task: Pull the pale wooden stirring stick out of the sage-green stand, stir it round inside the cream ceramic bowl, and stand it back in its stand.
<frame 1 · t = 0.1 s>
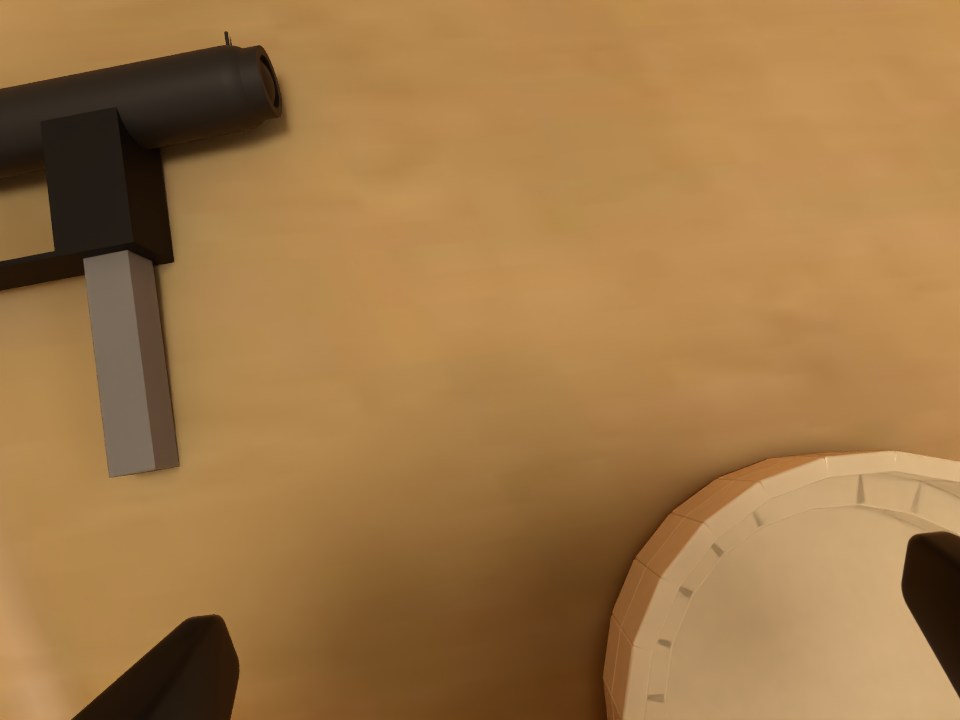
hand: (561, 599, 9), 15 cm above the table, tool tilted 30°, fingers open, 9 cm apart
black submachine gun: (59, 283, 26), on the table
bowl: (830, 683, 22), on the table
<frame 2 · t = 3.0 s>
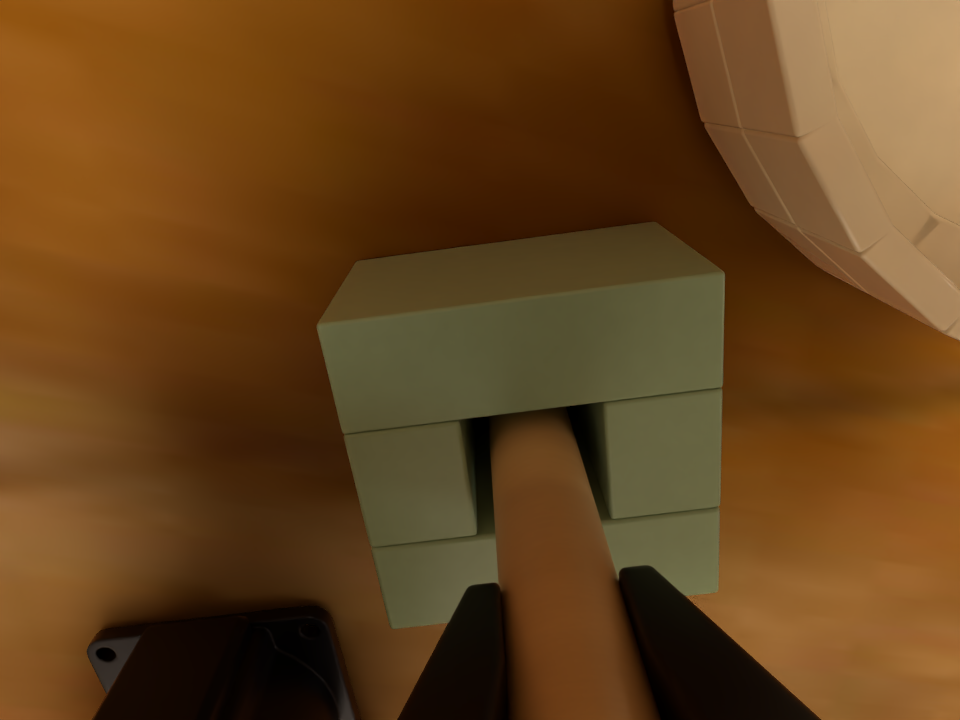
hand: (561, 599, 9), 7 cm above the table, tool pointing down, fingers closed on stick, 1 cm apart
stick: (547, 527, 10), in the stand, touching gripper
stand: (520, 377, 15), on the table
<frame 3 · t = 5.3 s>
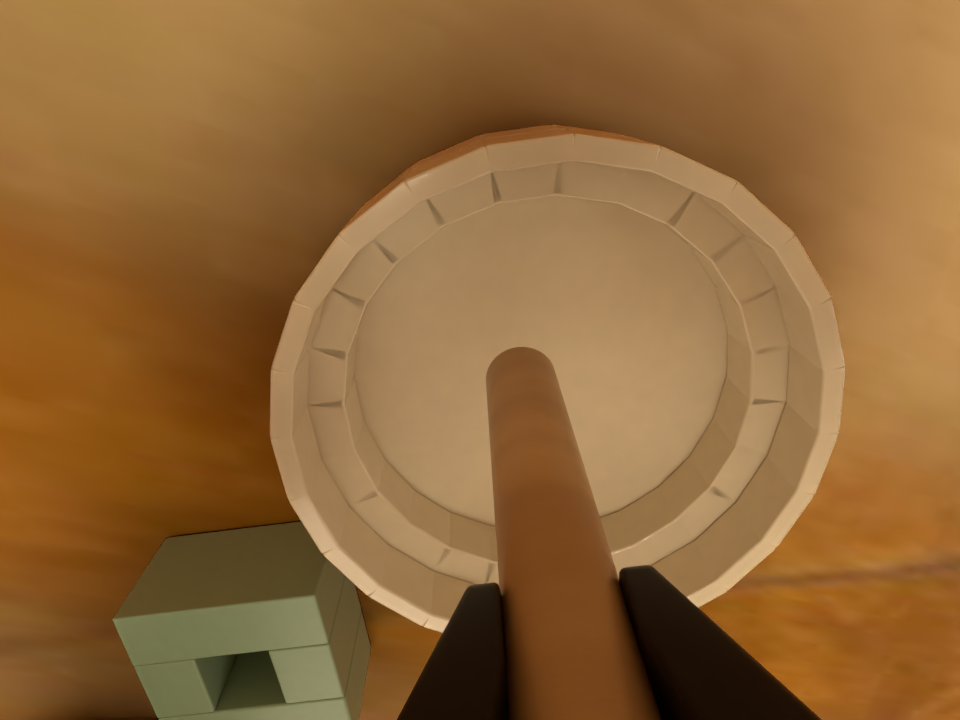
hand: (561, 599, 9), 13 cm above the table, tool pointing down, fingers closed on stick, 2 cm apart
stick: (548, 528, 10), point 12 cm above the table, touching gripper
bowl: (539, 368, 22), on the table
stand: (273, 594, 25), on the table
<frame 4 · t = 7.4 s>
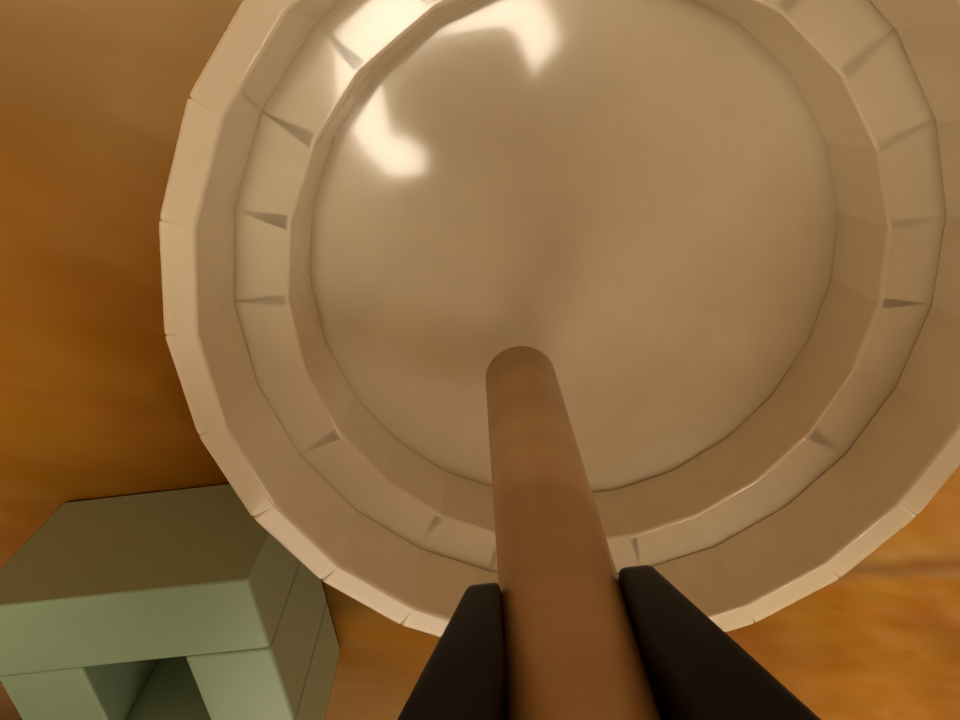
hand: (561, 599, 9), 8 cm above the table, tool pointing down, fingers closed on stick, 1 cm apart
stick: (547, 527, 10), point 7 cm above the table, touching gripper
bowl: (568, 269, 16), on the table
stand: (210, 580, 19), on the table
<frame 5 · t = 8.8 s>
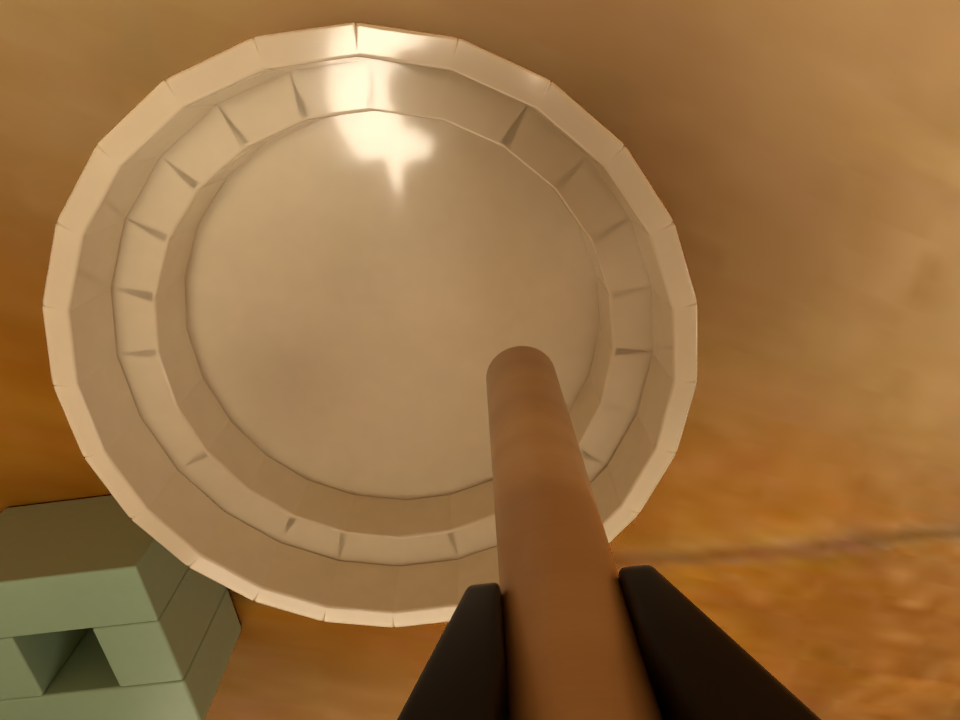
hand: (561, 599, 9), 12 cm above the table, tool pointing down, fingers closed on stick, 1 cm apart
stick: (548, 527, 10), point 10 cm above the table, touching gripper
bowl: (396, 320, 20), on the table
stand: (130, 571, 23), on the table
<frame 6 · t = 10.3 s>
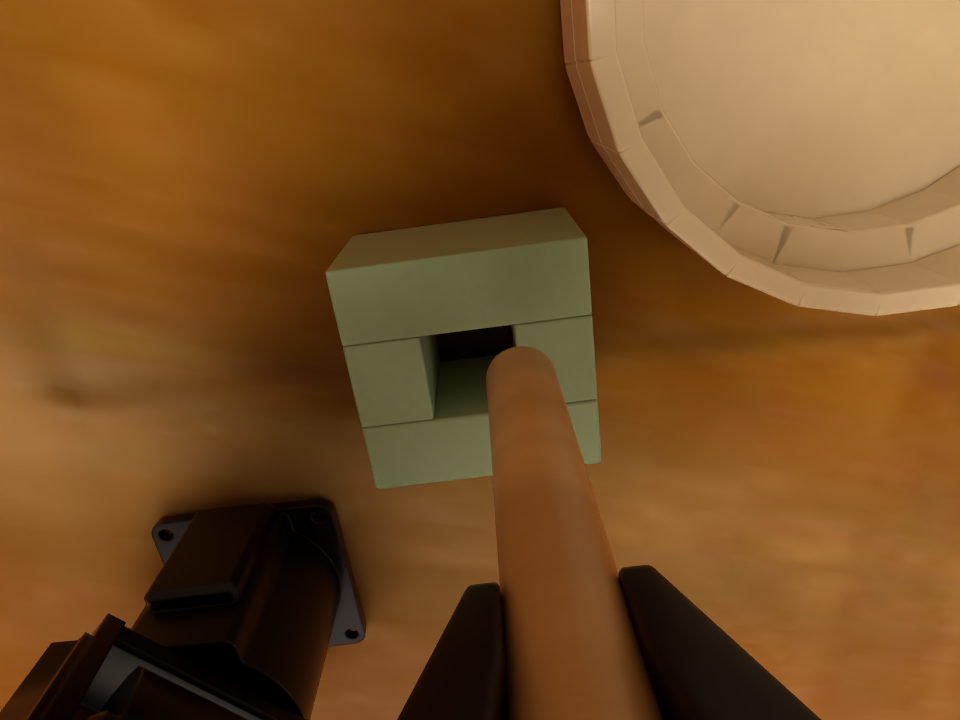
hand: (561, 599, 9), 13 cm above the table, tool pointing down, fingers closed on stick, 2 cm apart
stick: (548, 528, 10), point 11 cm above the table, touching gripper
stand: (472, 321, 21), on the table
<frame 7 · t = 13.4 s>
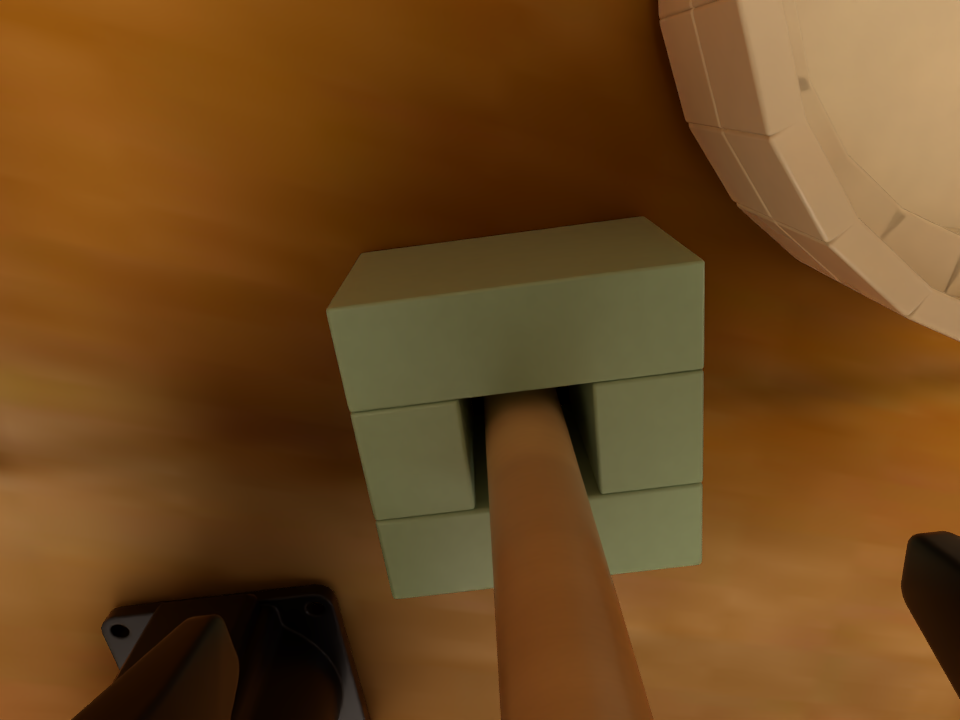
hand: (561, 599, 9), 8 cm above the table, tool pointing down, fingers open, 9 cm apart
stick: (537, 498, 11), in the stand
stand: (516, 364, 16), on the table
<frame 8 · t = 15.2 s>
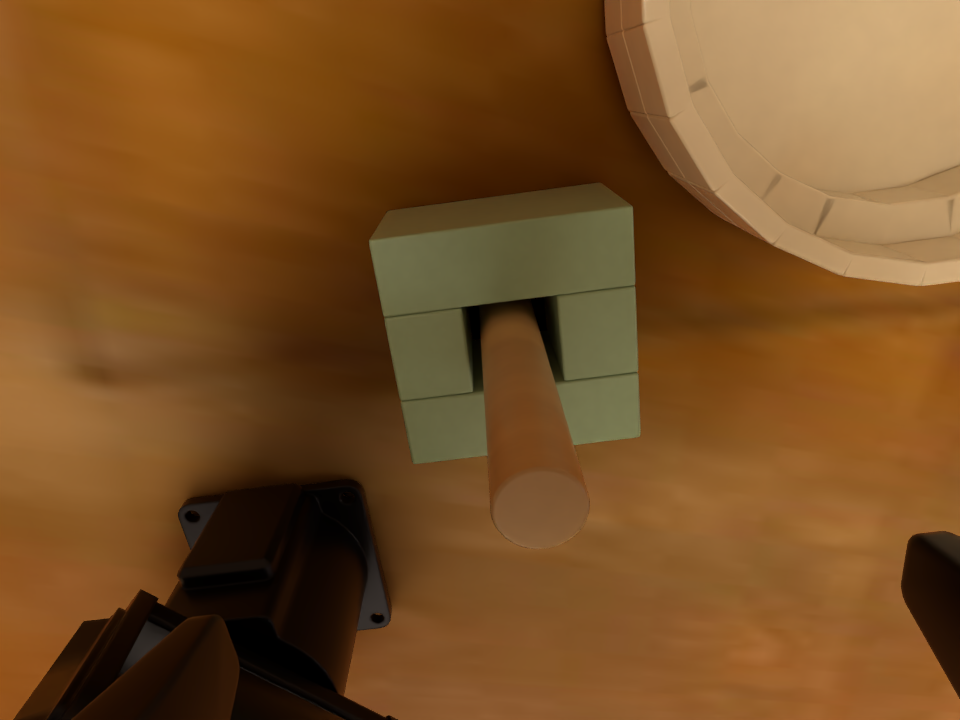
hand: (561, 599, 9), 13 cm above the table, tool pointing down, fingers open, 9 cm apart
stick: (516, 370, 15), in the stand
stand: (505, 298, 20), on the table
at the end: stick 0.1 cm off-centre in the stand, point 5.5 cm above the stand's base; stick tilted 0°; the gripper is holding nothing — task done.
